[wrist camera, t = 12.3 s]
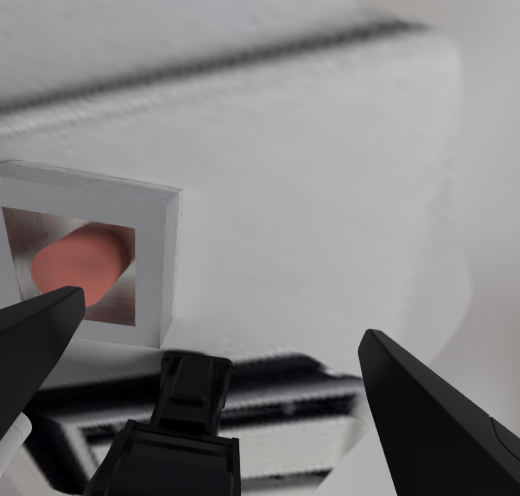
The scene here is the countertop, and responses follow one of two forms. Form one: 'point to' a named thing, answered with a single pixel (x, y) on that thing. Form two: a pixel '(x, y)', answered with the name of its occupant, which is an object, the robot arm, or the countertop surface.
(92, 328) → the frame
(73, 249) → the plunger
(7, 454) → the cup
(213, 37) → the countertop surface
